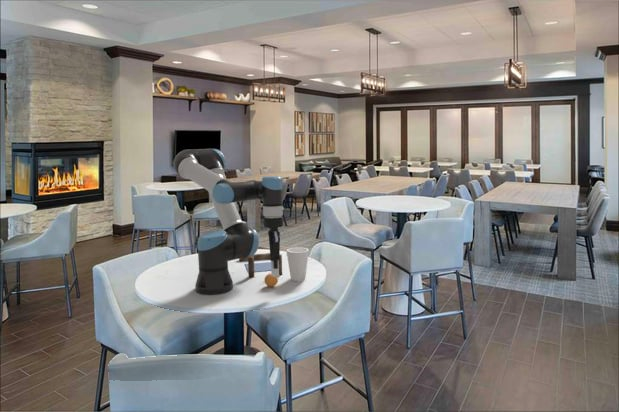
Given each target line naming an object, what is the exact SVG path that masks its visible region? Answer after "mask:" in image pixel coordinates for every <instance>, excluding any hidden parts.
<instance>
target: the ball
mask: <svg viewBox="0 0 619 412" xmlns="http://www.w3.org/2000/svg"><path fill="white" fill-rule="evenodd" d="M278 282H279V279H278V276H275V277H272V273H268V274H267V275H266V276H265V277H264V284H265V286H267V287H269V288H274V287H276V285H277V284H278Z"/></svg>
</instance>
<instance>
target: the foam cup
mask: <svg viewBox="0 0 619 412" xmlns="http://www.w3.org/2000/svg"><path fill="white" fill-rule="evenodd" d="M309 252H310V251H309V249H308V248H307V247H290V248H287V249H286V257H287V261H288V269H289V276H290V280H291V281H292V282H303V281H305V280H306V277H307V268H308V261H309Z"/></svg>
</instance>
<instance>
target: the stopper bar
mask: <svg viewBox="0 0 619 412" xmlns="http://www.w3.org/2000/svg"><path fill="white" fill-rule="evenodd" d="M251 256H253V257H254V261H260V260H261V261H263V260H270V259H271V256H270V252H268V253H255V254H254V255H251ZM248 257H250V256H248ZM248 257H244V258H239V259H238V260H239V262H246V261H247V262H248Z"/></svg>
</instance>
